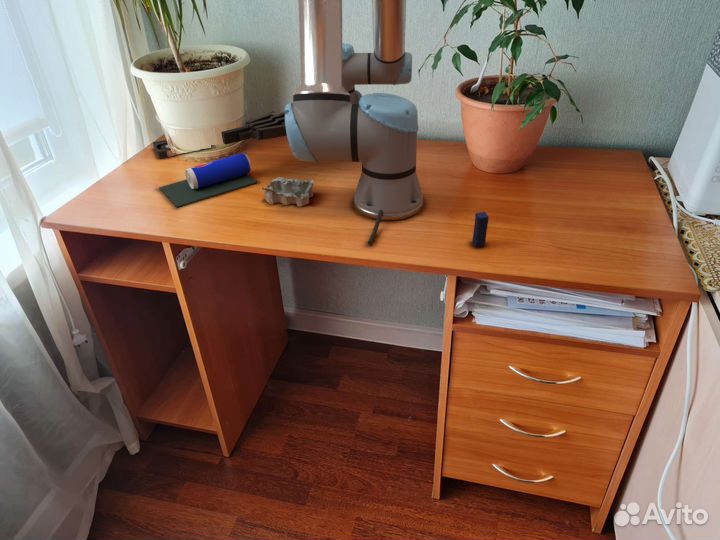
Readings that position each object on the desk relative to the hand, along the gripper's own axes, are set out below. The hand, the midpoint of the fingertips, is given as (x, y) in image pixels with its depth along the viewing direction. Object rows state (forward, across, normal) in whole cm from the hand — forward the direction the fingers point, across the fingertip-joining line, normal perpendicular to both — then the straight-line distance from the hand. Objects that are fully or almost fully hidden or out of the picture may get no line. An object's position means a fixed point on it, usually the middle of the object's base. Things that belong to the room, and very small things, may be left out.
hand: (223, 138), depth 123 cm
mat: (+6, 0, -10) cm, 12 cm away
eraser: (-26, -58, -11) cm, 65 cm away
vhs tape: (+3, +26, -11) cm, 29 cm away
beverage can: (-5, 0, -8) cm, 9 cm away
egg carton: (-7, -18, -11) cm, 22 cm away
